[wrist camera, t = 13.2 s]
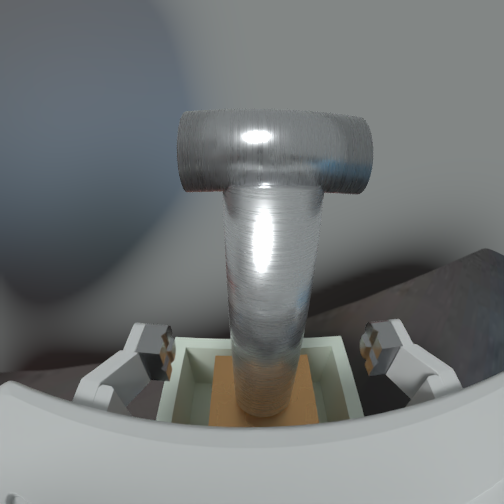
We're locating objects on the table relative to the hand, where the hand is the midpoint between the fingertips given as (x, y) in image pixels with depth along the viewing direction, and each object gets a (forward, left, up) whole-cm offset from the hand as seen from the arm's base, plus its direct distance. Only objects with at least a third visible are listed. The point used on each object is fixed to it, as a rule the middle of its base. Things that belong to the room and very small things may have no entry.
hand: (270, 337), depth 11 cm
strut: (0, 0, -13) cm, 13 cm away
